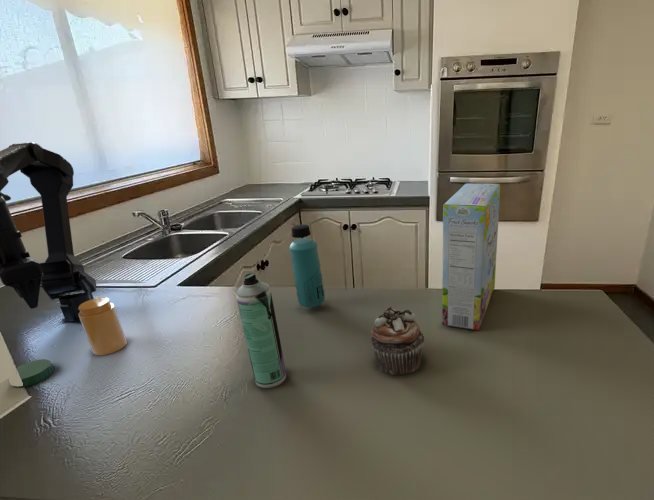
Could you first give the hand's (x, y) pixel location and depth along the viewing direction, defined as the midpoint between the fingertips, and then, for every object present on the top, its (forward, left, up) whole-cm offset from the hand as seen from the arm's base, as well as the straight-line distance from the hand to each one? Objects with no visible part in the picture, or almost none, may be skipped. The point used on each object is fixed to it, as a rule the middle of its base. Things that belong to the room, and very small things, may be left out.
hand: (28, 302), depth 87 cm
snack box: (-25, +89, -12) cm, 93 cm away
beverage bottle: (-23, +52, -12) cm, 58 cm away
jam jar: (-2, +14, -12) cm, 18 cm away
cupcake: (-2, +76, -12) cm, 77 cm away
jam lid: (+9, +6, -10) cm, 15 cm away
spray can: (+5, +54, -12) cm, 55 cm away
